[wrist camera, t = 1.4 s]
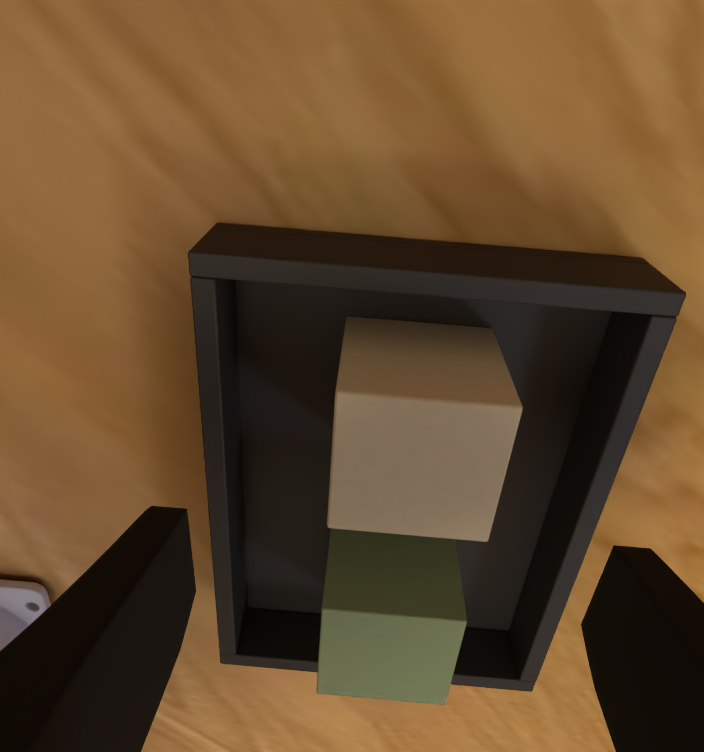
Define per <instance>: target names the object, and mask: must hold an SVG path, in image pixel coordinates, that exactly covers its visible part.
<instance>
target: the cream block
mask: <svg viewBox="0 0 704 752" xmlns="http://www.w3.org/2000/svg"><path fill="white" fill-rule="evenodd" d="M522 410H523V407H522V404H521V402H520V399H519V397H518V394H517V391H516V389H515V386H514V383H513V381H512V378H511V376H510V373H509V370H508V368H507V365H506V363H505V360H504V357H503V355H502V352H501V350H500V347H499V344H498V342H497V339H496V337H495V334H494V331H493V329H492V328H484V327H472V326H460V325H448V324H436V323H424V322H412V321H400V320H388V319H376V318H364V317H352V316H348V317H347V318H346V323H345V330H344V337H343V344H342V350H341V357H340V364H339V371H338V377H337V384H336V391H335V405H334V421H333V437H332V453H331V469H330V485H329V501H328V517H327V526H328V528H334V529H346V530H357V531H368V532H380V533H391V534H403V535H414V536H425V537H437V538H448V539H459V540H471V541H482V542H487V541H488V539H489V535H490V532H491V528H492V524H493V520H494V516H495V513H496V509H497V505H498V501H499V497H500V494H501V490H502V486H503V482H504V478H505V474H506V471H507V467H508V463H509V459H510V455H511V452H512V448H513V444H514V440H515V436H516V433H517V429H518V425H519V421H520V417H521V413H522Z"/></svg>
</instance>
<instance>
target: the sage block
mask: <svg viewBox="0 0 704 752" xmlns="http://www.w3.org/2000/svg"><path fill="white" fill-rule="evenodd" d="M466 624H467V618H466V611H465V604H464V597H463V590H462V583H461V576H460V569H459V562H458V555H457V548H456V541H455V539H448V538H437V537H425V536H414V535H403V534H391V533H380V532H368V531H357V530H346V529H334V528H331V532H330V541H329V549H328V558H327V567H326V575H325V584H324V593H323V602H322V612H321V628H320V644H319V660H318V676H317V693H318V694H329V695H340V696H351V697H362V698H373V699H384V700H395V701H406V702H417V703H428V704H439V705H445V703H446V700H447V696H448V692H449V688H450V685H451V681H452V677H453V673H454V669H455V666H456V662H457V658H458V654H459V650H460V647H461V643H462V639H463V635H464V631H465V627H466Z"/></svg>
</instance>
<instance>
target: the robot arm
mask: <svg viewBox="0 0 704 752" xmlns="http://www.w3.org/2000/svg"><path fill="white" fill-rule="evenodd" d="M195 593H196V586H195V577H194V568H193V559H192V550H191V541H190V532H189V523H188V514H187V509H182V508H170V507H159V506H151V507H149V508H148V509H147V510H146V511H145V512H144V513H143V514H142V515H141V516H140V517H139V518H138V519H137V520H136V521H135V522H134V523H133V524H132V525H131V526H130V527H129V528H128V529H127V530H126V531H125V532H124V533H123V534H122V535H121V536H120V537H119V538H118V539H117V541H116V542H115V543H114V544H113V545H112V546H111V547H110V548H109V549H108V550H107V551H106V552H105V553H104V554H103V555H102V556H101V557H100V558H99V559H98V560H97V561H96V562H95V563H94V564H93V565H92V566H91V567H90V568H89V569H88V570H87V571H86V572H85V573H84V574H83V575H82V576H81V577H80V578H79V579H78V580H77V581H75V582H74V583H73V584H72V585H71V586H70V587H69V588H68V589H67V590H66V591H65V592H64V593H63V594H62V595H61V596H60V597H59V598H58V599H57V600H56V601H55V602H54V603H53V604H52V605H51V603H50V599H49V596H48V593H47V591H46V589H45V588H44V587H43V586H42V585H40V584H38V583H34V582H25V581H14V580H3V579H0V752H141V750H142V747H143V745H144V742H145V740H146V737H147V735H148V732H149V729H150V727H151V724H152V722H153V719H154V717H155V714H156V712H157V709H158V706H159V704H160V701H161V699H162V696H163V694H164V691H165V688H166V686H167V683H168V681H169V678H170V675H171V673H172V670H173V668H174V665H175V662H176V660H177V657H178V654H179V652H180V649H181V645H182V641H183V638H184V634H185V631H186V627H187V624H188V620H189V616H190V612H191V608H192V604H193V601H194V597H195ZM581 626H582V631H583V636H584V641H585V646H586V651H587V656H588V661H589V665H590V670H591V674H592V679H593V683H594V687H595V690H596V694H597V697H598V700H599V703H600V706H601V709H602V712H603V715H604V718H605V721H606V724H607V727H608V730H609V733H610V736H611V739H612V742H613V745H614V747H615V750H616V752H704V603H703V602H702V601H701V600H700V599H699V598H698V597H697V596H696V595H695V593H694V592H693V591H692V590H691V589H690V588H689V587H688V586H687V585H686V584H685V583H684V582H683V581H682V580H681V579H680V578H679V577H678V576H677V575H676V574H675V573H674V572H673V571H672V570H671V569H670V568H669V567H668V566H667V564H666V563H665V562H664V561H663V560H662V559H661V558H660V557H659V556H658V555H657V554H656V553H654V552H653V551H652V550H651V549H649V548H637V547H626V546H613V549H612V551H611V554H610V556H609V558H608V561H607V563H606V566H605V568H604V570H603V573H602V575H601V578H600V580H599V583H598V585H597V587H596V590H595V592H594V595H593V597H592V599H591V602H590V604H589V607H588V609H587V611H586V614H585V616H584V619H583V621H582V624H581Z"/></svg>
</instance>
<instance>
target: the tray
mask: <svg viewBox="0 0 704 752" xmlns="http://www.w3.org/2000/svg"><path fill="white" fill-rule="evenodd" d="M188 259H189V272H190V276H191V279H190V282H191V294H192V307H193V320H194V332H195V345H196V358H197V370H198V383H199V396H200V408H201V421H202V434H203V446H204V459H205V472H206V484H207V497H208V510H209V522H210V535H211V548H212V561H213V573H214V586H215V599H216V611H217V624H218V637H219V649H220V662H221V663H222V664H232V665H243V666H254V667H265V668H276V669H287V670H298V671H309V672H318V660H319V644H320V628H321V612H322V602H323V593H324V584H325V575H326V567H327V558H328V549H329V541H330V532H331V528H328V526H327V517H328V501H329V485H330V469H331V453H332V437H333V421H334V405H335V391H336V384H337V377H338V371H339V364H340V357H341V350H342V344H343V337H344V330H345V323H346V318H347V317H348V316H352V317H364V318H376V319H388V320H400V321H412V322H424V323H436V324H448V325H460V326H472V327H484V328H492V329H493V331H494V334H495V337H496V339H497V342H498V344H499V347H500V350H501V352H502V355H503V357H504V360H505V363H506V365H507V368H508V370H509V373H510V376H511V378H512V381H513V383H514V386H515V389H516V391H517V394H518V397H519V399H520V402H521V404H522V407H523V410H522V413H521V417H520V421H519V425H518V429H517V433H516V436H515V440H514V444H513V448H512V452H511V455H510V459H509V463H508V467H507V471H506V474H505V478H504V482H503V486H502V490H501V494H500V497H499V501H498V505H497V509H496V513H495V516H494V520H493V524H492V528H491V532H490V535H489V539H488V541H487V542H482V541H471V540H459V539H455V541H456V548H457V555H458V562H459V569H460V576H461V583H462V590H463V597H464V604H465V611H466V618H467V624H466V627H465V631H464V635H463V639H462V643H461V647H460V650H459V654H458V658H457V662H456V666H455V669H454V673H453V677H452V681H451V684H453V685H464V686H475V687H486V688H497V689H508V690H519V691H532V690H533V687H534V685H535V681H536V680H537V677H538V675H539V672H540V670H541V667H542V665H543V662H544V659H545V657H546V654H547V652H548V649H549V647H550V644H551V641H552V639H553V636H554V634H555V631H556V629H557V626H558V623H559V621H560V618H561V616H562V613H563V611H564V608H565V605H566V603H567V600H568V598H569V595H570V592H571V590H572V587H573V585H574V582H575V580H576V577H577V574H578V572H579V569H580V567H581V564H582V562H583V559H584V556H585V554H586V551H587V549H588V546H589V544H590V541H591V538H592V536H593V533H594V531H595V528H596V526H597V523H598V520H599V518H600V515H601V513H602V510H603V508H604V505H605V502H606V500H607V497H608V495H609V492H610V490H611V487H612V484H613V482H614V479H615V477H616V474H617V472H618V469H619V466H620V464H621V461H622V459H623V456H624V454H625V451H626V448H627V446H628V443H629V441H630V438H631V436H632V433H633V430H634V428H635V425H636V423H637V420H638V417H639V415H640V412H641V410H642V407H643V405H644V402H645V399H646V397H647V394H648V392H649V389H650V387H651V384H652V381H653V379H654V376H655V374H656V371H657V369H658V366H659V363H660V361H661V358H662V356H663V353H664V351H665V348H666V345H667V343H668V340H669V338H670V335H671V333H672V330H673V327H674V325H675V322H676V316H678V315H679V312H680V309H681V307H682V304H683V302H684V299H685V297H686V293H685V292H684V291H683V290H682V289H680V288H679V287H678V286H677V285H675V284H674V283H673V282H672V281H671V280H669V279H668V278H667V277H666V276H664V275H663V274H662V273H661V272H659V271H658V270H657V269H656V268H654V267H653V266H652V265H650V264H649V263H648V262H647V261H646V260H644V259H643V258H635V257H623V256H611V255H599V254H586V253H574V252H562V251H550V250H538V249H526V248H514V247H501V246H489V245H477V244H465V243H453V242H441V241H428V240H416V239H404V238H392V237H380V236H368V235H356V234H343V233H331V232H319V231H307V230H295V229H283V228H270V227H258V226H246V225H234V224H222V223H217V224H215V225H214V226H213V227H212V229H210V230H209V231H208V232H207V233H206V234H205V236H204V237H203V238H202V239H201V240H200V241H199V242H198V243H197V244H196V245H195V246H194V247H193V248H192V249H191V250H190V251H189V252H188Z"/></svg>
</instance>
